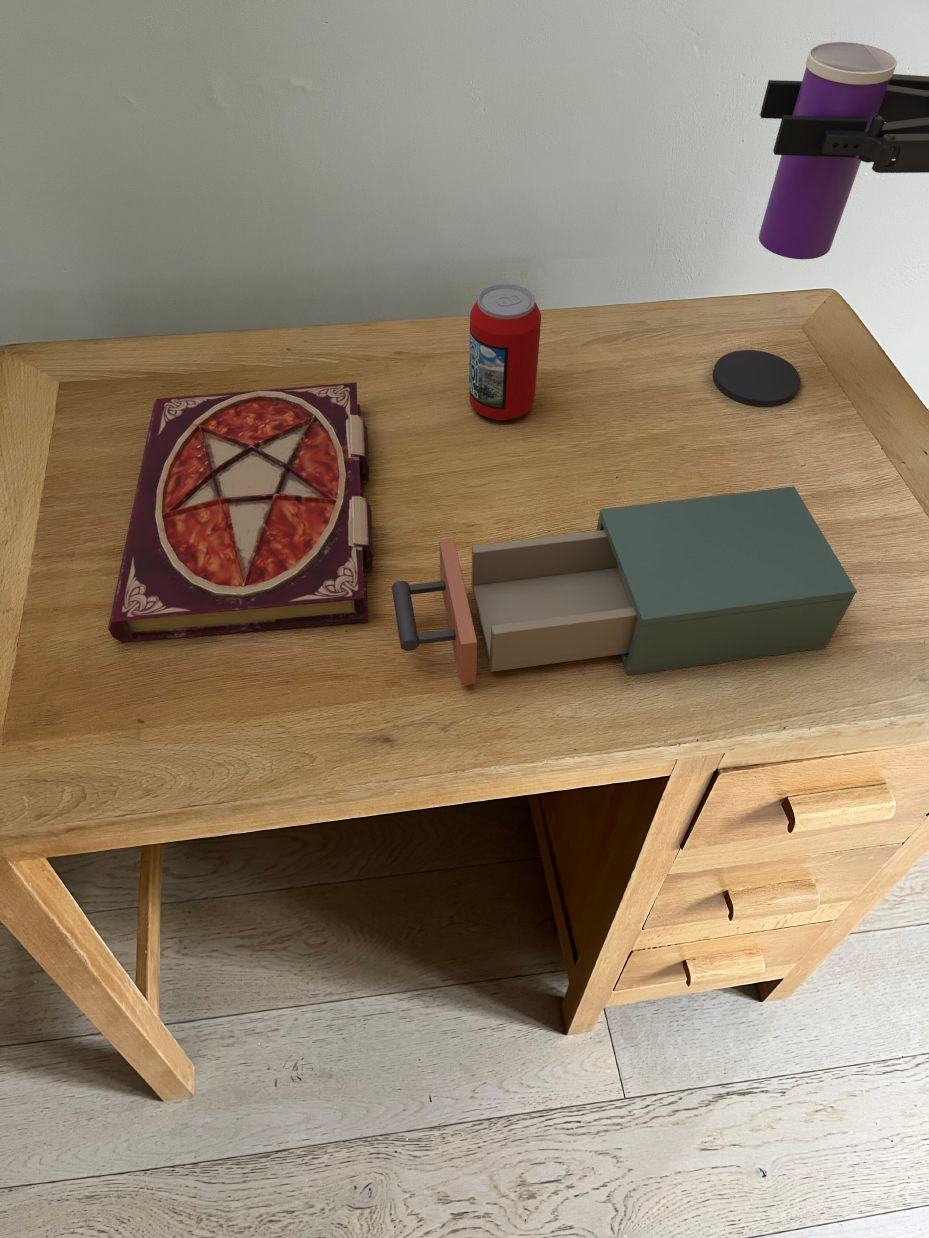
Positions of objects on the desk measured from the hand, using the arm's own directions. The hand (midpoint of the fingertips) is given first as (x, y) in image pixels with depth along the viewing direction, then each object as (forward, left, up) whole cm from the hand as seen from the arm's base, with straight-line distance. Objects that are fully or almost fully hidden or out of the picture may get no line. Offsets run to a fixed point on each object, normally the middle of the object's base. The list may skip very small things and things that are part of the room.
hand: (772, 116), depth 71 cm
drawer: (-2, +40, -25) cm, 47 cm away
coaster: (-5, -3, -26) cm, 27 cm away
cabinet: (-13, +29, -26) cm, 41 cm away
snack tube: (-4, -3, -10) cm, 12 cm away
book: (+25, +42, -26) cm, 55 cm away
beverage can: (+15, +16, -26) cm, 34 cm away
